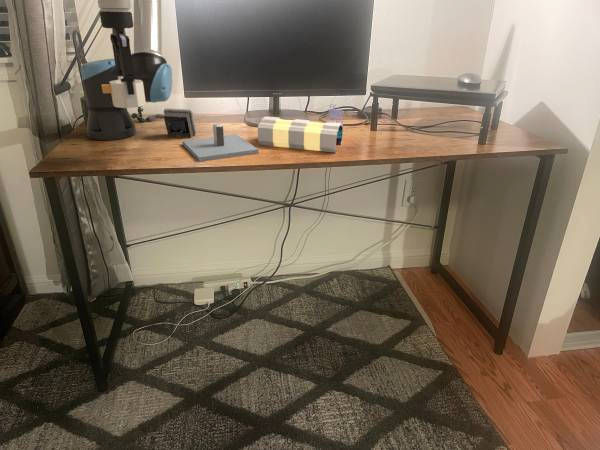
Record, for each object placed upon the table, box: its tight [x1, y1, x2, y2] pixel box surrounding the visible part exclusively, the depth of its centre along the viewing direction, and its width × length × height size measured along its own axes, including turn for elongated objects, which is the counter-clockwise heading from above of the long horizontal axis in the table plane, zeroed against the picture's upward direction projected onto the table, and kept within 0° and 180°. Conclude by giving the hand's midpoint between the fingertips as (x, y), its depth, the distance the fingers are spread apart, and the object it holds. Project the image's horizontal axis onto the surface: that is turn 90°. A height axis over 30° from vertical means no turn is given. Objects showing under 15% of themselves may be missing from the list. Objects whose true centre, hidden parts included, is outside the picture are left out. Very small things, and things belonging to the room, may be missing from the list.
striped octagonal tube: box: [257, 103, 344, 153], centre depth 138 cm, size 25×10×13 cm, turn 74°
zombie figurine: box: [130, 106, 165, 123], centre depth 163 cm, size 5×7×15 cm
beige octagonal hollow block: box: [102, 79, 147, 109], centre depth 119 cm, size 8×10×6 cm
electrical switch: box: [163, 107, 197, 139], centre depth 145 cm, size 9×5×9 cm, turn 84°
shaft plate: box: [181, 123, 259, 162], centre depth 134 cm, size 18×18×7 cm
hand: (129, 103), depth 120 cm, fingers closed on beige octagonal hollow block, 8 cm apart
